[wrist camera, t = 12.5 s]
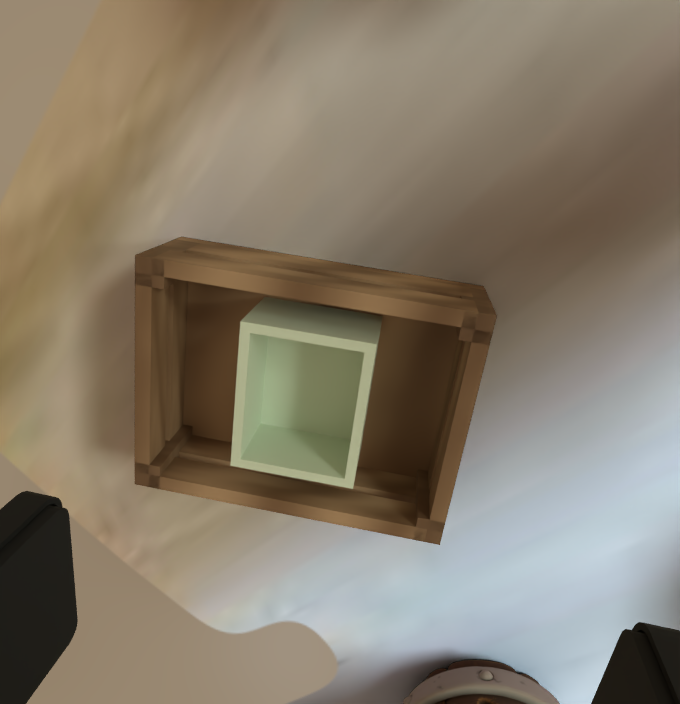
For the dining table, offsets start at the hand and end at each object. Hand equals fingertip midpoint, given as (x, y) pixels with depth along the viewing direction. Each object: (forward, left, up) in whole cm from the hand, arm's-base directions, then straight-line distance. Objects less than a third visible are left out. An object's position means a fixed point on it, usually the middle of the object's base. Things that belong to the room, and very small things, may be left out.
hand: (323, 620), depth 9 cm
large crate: (+3, +5, -23) cm, 23 cm away
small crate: (+3, +5, -22) cm, 23 cm away
